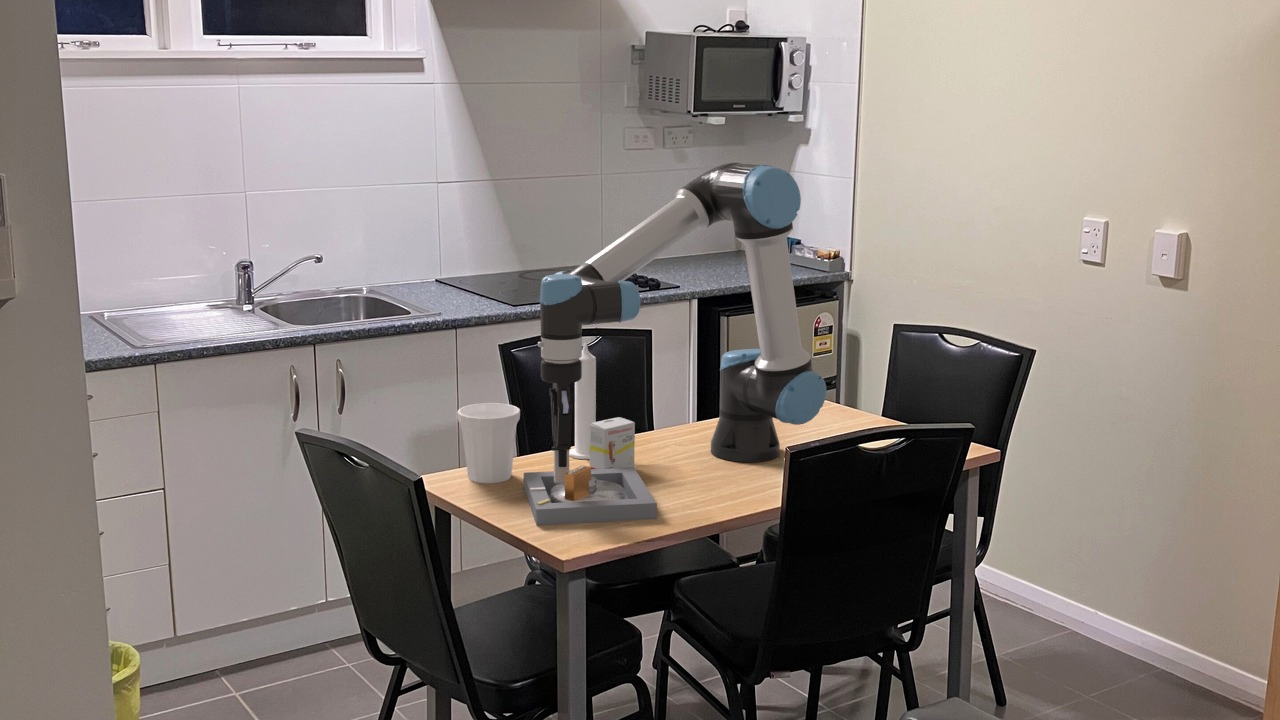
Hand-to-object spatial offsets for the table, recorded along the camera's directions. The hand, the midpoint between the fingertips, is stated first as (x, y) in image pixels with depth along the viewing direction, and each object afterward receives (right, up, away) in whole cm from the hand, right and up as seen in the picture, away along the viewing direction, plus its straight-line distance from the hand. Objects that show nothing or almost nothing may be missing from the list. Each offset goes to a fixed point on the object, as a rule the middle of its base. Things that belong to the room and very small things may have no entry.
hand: (561, 481), depth 234 cm
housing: (+5, -6, +2) cm, 8 cm away
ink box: (+9, -2, +22) cm, 24 cm away
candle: (+3, +2, +38) cm, 38 cm away
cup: (-16, -2, +17) cm, 23 cm away
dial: (+5, -4, +2) cm, 7 cm away
